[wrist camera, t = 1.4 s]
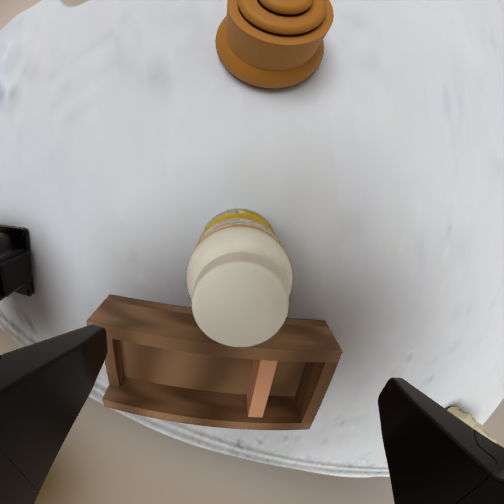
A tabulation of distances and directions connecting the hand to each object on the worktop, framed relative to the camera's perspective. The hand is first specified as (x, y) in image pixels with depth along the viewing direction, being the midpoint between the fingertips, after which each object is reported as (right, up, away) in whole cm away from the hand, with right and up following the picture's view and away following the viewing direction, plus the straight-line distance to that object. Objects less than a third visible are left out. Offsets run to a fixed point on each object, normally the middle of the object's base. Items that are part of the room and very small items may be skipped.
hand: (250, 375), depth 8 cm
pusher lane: (-3, -5, +15) cm, 17 cm away
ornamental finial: (+1, +18, +9) cm, 20 cm away
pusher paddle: (+1, -6, +15) cm, 16 cm away
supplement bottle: (-1, +4, +13) cm, 14 cm away
